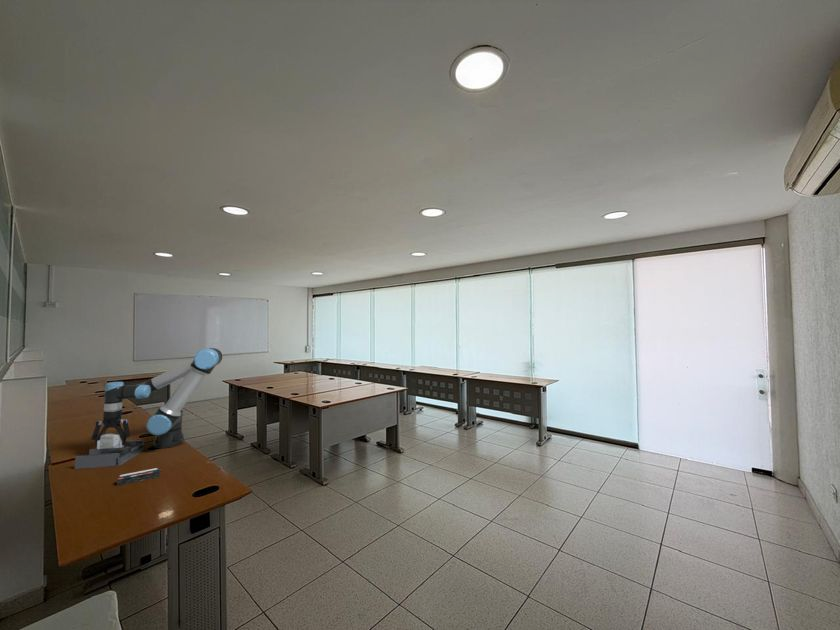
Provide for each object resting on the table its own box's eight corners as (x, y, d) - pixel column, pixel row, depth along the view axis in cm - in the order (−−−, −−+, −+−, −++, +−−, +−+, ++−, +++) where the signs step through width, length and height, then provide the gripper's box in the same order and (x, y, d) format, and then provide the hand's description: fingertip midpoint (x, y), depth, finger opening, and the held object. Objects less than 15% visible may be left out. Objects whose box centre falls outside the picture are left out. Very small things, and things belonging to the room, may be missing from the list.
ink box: (97, 457, 179) (99, 435, 180) (107, 454, 185) (109, 432, 185) (112, 458, 179) (113, 436, 179) (121, 454, 184) (123, 433, 184)
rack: (144, 450, 191) (144, 439, 191) (120, 465, 169) (121, 453, 170) (104, 453, 186) (104, 442, 186) (74, 469, 164) (75, 456, 165)
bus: (167, 480, 155) (167, 471, 155) (92, 496, 139) (93, 485, 139) (166, 469, 166) (166, 461, 166) (97, 483, 151) (98, 474, 151)
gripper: (140, 407, 190) (137, 447, 188) (93, 409, 184) (90, 450, 182) (132, 410, 182) (130, 452, 181) (83, 412, 176) (80, 455, 175)
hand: (110, 451), depth 182 cm, fingers closed on ink box, 9 cm apart
